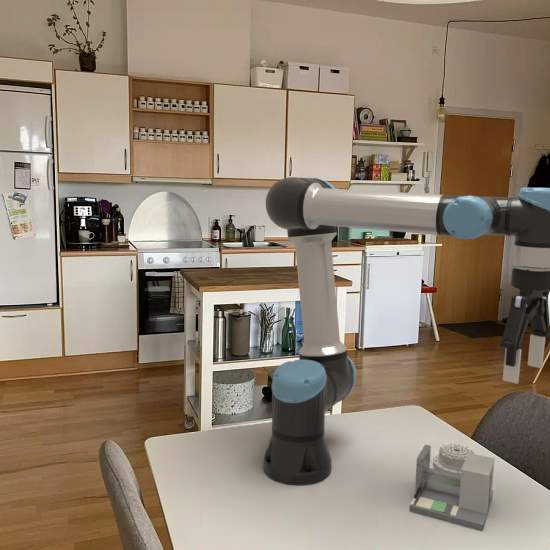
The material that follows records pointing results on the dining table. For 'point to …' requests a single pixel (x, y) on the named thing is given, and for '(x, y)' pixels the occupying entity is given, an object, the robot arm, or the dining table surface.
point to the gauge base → (450, 499)
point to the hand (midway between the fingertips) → (523, 373)
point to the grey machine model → (431, 473)
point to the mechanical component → (451, 458)
